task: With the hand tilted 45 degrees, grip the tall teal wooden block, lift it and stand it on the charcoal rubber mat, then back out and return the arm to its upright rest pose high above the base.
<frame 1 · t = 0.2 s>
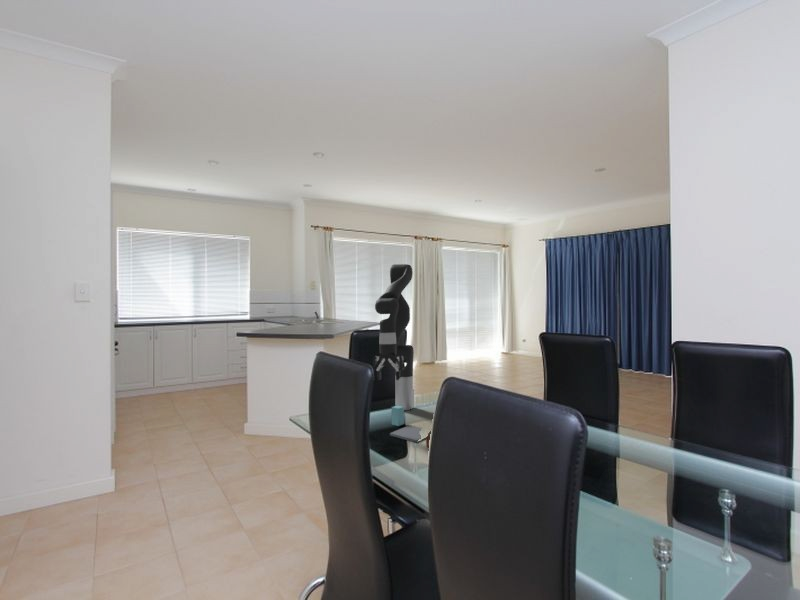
hand: (388, 379, 183), 22 cm above the table, tool pointing down, fingers open, 8 cm apart
mat: (413, 434, 176), on the table
tin: (441, 449, 160), on the table
block: (397, 424, 190), on the table
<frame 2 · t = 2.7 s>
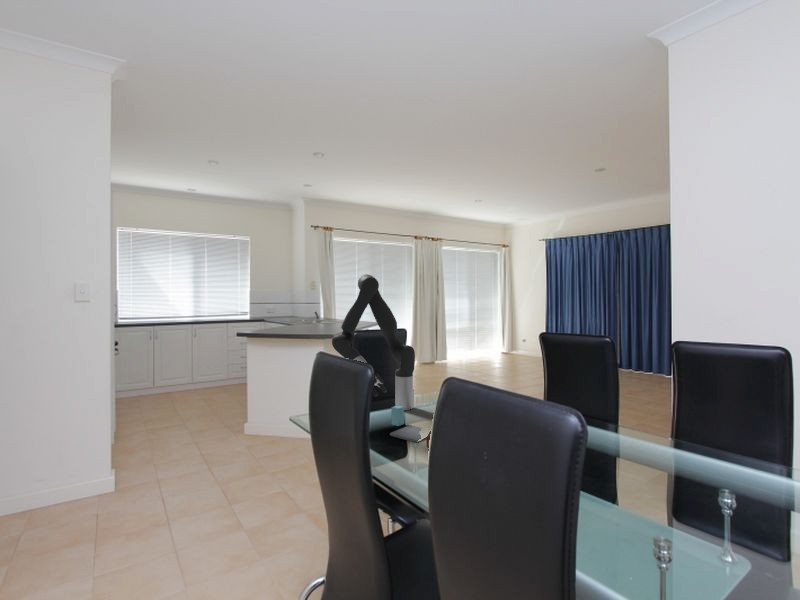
hand: (381, 393, 194), 13 cm above the table, tool tilted 45°, fingers open, 8 cm apart
nothing on the table moved.
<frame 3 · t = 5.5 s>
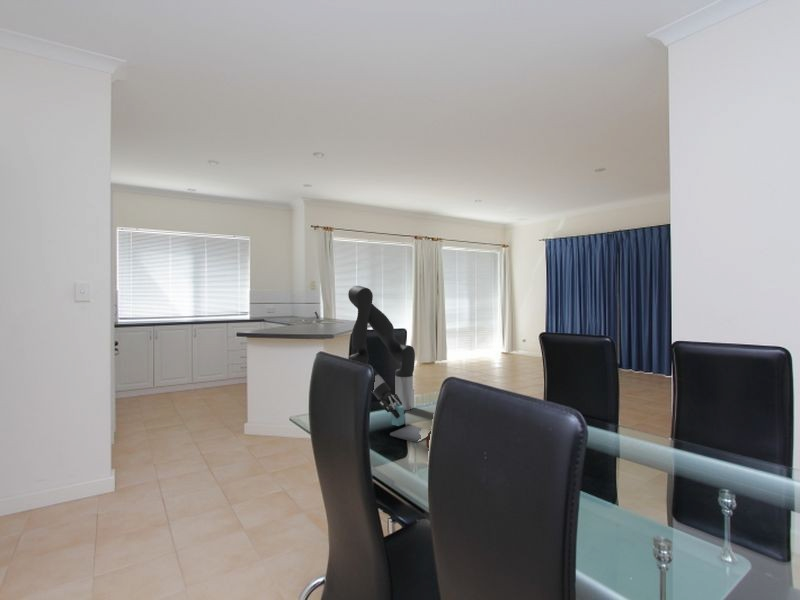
hand: (401, 415, 189), 4 cm above the table, tool tilted 45°, fingers closed on block, 4 cm apart
block: (397, 424, 190), on the table, touching gripper
everything else where it was.
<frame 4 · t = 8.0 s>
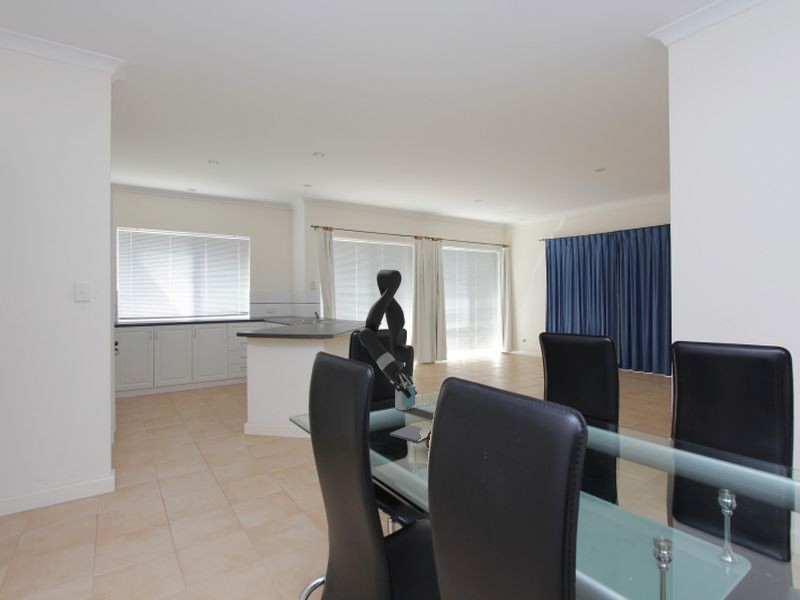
hand: (412, 395, 177), 16 cm above the table, tool tilted 45°, fingers closed on block, 4 cm apart
block: (408, 405, 178), point 12 cm above the table, touching gripper
everything else where it was.
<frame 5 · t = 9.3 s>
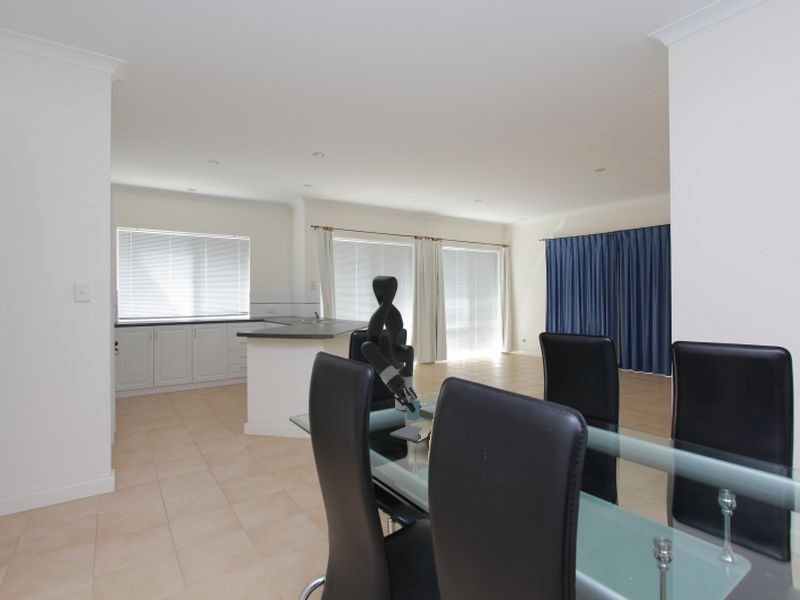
hand: (417, 409, 175), 11 cm above the table, tool tilted 45°, fingers closed on block, 4 cm apart
block: (412, 419, 176), point 7 cm above the table, touching gripper
everything else where it was.
when the fingers open (7 cm above the table, at t = 10.4 s): block drops 1 cm, resting on mat.
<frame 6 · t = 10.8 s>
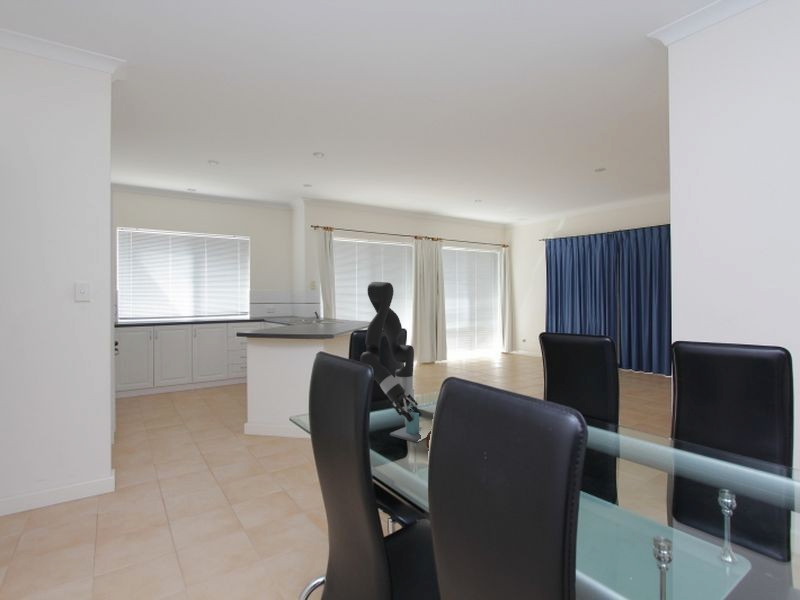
hand: (416, 418, 175), 7 cm above the table, tool tilted 45°, fingers open, 8 cm apart
block: (412, 432, 176), point 1 cm above the table, touching mat
everything else where it was.
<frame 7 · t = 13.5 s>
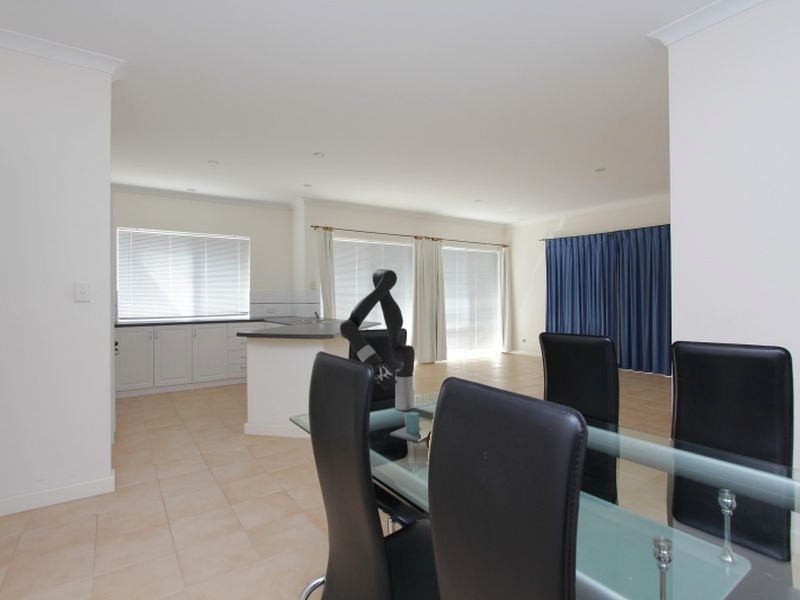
hand: (391, 386, 183), 19 cm above the table, tool tilted 40°, fingers open, 8 cm apart
nothing on the table moved.
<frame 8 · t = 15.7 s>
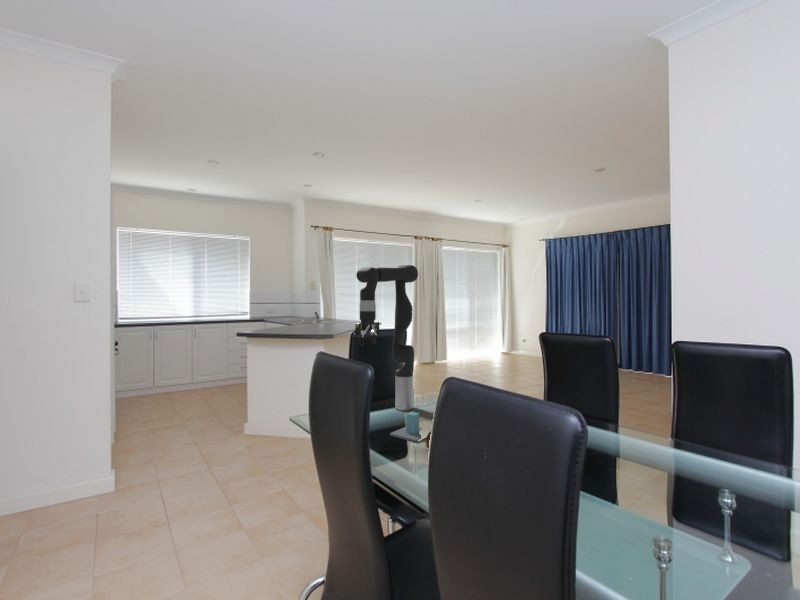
hand: (367, 344, 195), 36 cm above the table, tool pointing down, fingers open, 8 cm apart
nothing on the table moved.
at the end: block inside the target area on the mat (0.2 cm from its centre), point 1.0 cm above the mat's base; block tilted 0°; the gripper is holding nothing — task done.
